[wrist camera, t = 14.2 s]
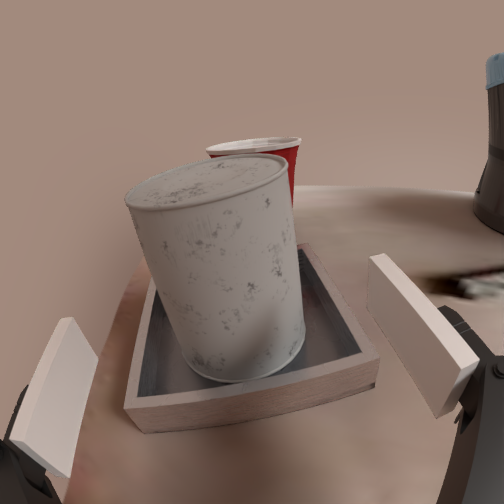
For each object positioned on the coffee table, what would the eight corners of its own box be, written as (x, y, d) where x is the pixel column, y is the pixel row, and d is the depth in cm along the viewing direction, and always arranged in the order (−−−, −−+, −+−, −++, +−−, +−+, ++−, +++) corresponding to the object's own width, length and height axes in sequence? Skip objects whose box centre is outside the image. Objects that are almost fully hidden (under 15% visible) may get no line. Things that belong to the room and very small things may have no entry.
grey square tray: (310, 269, 31) (307, 242, 29) (374, 387, 17) (380, 357, 16) (161, 301, 30) (151, 275, 28) (143, 433, 17) (123, 408, 15)
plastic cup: (328, 225, 38) (320, 130, 33) (274, 267, 32) (256, 150, 26) (264, 212, 46) (250, 131, 40) (208, 245, 39) (185, 151, 34)
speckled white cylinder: (164, 330, 25) (112, 190, 19) (258, 283, 29) (233, 150, 23) (218, 407, 18) (147, 224, 12) (332, 334, 22) (324, 161, 16)
